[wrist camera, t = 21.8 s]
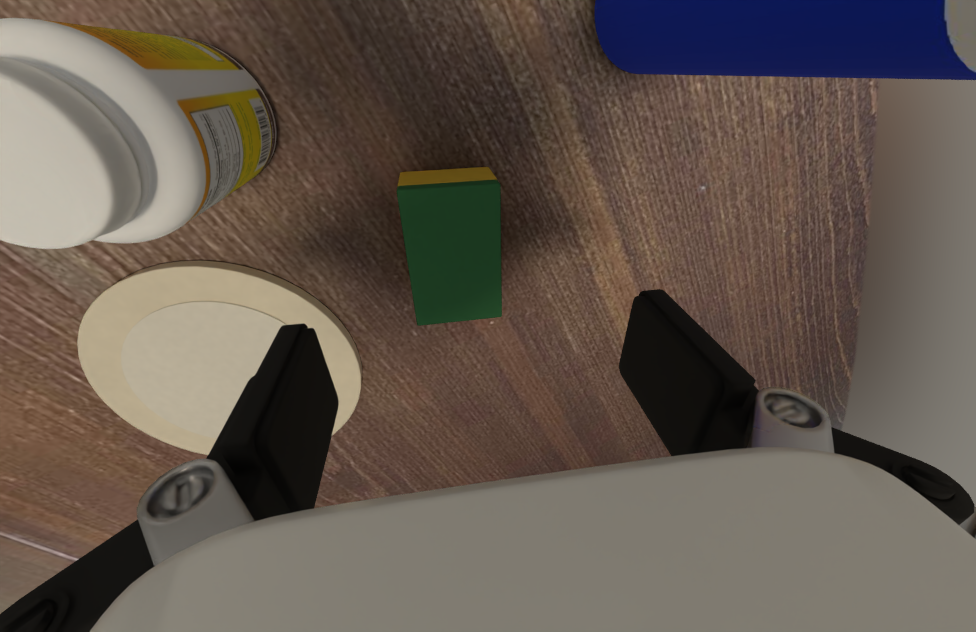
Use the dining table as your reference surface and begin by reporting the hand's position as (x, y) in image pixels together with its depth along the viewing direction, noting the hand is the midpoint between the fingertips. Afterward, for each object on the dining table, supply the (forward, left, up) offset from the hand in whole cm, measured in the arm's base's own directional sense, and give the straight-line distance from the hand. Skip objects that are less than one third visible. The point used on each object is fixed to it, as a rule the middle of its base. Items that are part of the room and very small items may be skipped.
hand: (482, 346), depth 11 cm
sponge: (+1, 0, -11) cm, 11 cm away
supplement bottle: (-6, -10, -12) cm, 16 cm away
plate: (+9, -14, -11) cm, 20 cm away
